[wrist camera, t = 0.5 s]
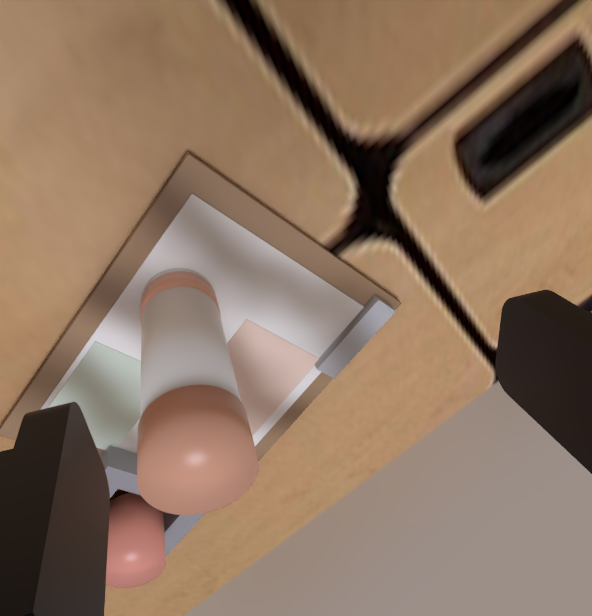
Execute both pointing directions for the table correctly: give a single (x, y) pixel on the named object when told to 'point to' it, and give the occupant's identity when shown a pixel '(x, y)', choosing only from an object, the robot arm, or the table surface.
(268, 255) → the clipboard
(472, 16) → the table surface
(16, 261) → the table surface
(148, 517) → the button
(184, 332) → the marker
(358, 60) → the table surface
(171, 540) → the button housing
